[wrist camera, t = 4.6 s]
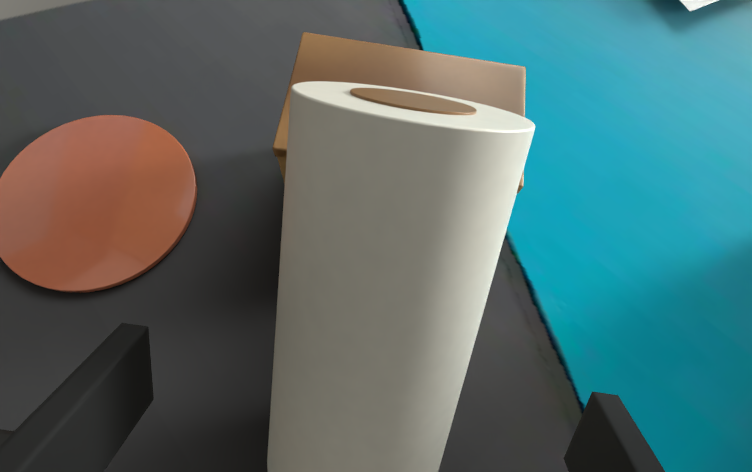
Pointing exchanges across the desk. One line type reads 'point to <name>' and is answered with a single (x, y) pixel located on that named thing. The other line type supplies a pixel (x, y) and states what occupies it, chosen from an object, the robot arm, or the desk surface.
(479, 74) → the oak box
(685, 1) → the touchpad
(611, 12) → the desk surface
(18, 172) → the coaster
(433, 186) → the paper roll
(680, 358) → the desk surface
